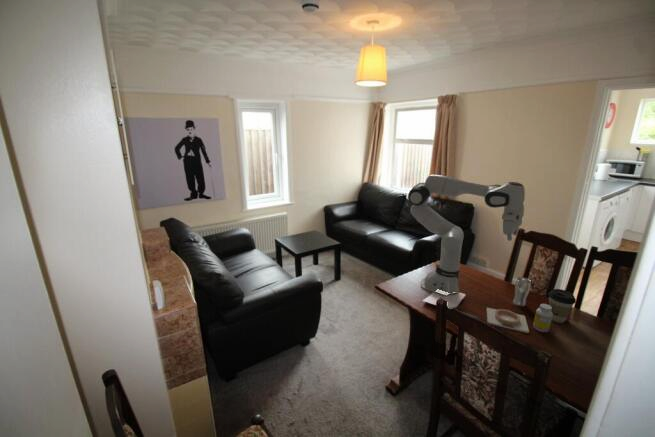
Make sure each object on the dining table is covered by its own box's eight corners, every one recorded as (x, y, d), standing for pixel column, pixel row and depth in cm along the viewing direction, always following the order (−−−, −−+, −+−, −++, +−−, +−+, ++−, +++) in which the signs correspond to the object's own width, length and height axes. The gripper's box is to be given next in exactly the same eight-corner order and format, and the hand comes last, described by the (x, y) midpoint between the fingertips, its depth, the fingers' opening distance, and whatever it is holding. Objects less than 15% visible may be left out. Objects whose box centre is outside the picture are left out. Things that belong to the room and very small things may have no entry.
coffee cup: (538, 314, 160) (544, 290, 156) (552, 310, 164) (558, 286, 160) (560, 327, 150) (567, 301, 146) (575, 322, 154) (582, 297, 150)
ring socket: (487, 323, 154) (488, 318, 153) (486, 309, 166) (487, 304, 165) (528, 333, 146) (529, 328, 145) (524, 317, 158) (525, 312, 157)
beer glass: (528, 307, 167) (533, 283, 162) (514, 306, 168) (519, 282, 164) (523, 300, 173) (528, 277, 169) (510, 299, 175) (514, 276, 170)
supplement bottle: (533, 322, 154) (538, 300, 150) (549, 327, 150) (554, 305, 146) (531, 329, 149) (537, 306, 145) (548, 334, 145) (553, 311, 141)
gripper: (512, 207, 166) (511, 230, 170) (500, 217, 153) (499, 242, 157) (526, 208, 161) (524, 232, 165) (514, 218, 148) (513, 244, 152)
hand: (512, 237), depth 161 cm, fingers open, 8 cm apart
